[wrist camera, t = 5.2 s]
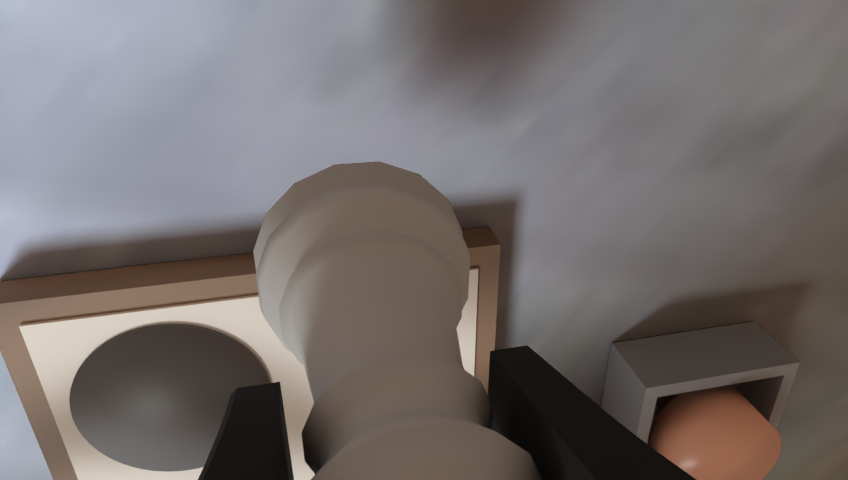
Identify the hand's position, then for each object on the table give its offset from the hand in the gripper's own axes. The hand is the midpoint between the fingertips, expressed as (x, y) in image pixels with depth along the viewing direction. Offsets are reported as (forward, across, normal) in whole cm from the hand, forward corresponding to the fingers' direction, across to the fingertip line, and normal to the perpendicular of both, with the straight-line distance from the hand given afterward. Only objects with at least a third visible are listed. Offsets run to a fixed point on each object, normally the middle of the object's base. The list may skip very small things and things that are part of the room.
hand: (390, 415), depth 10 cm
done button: (+8, -13, +11) cm, 18 cm away
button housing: (+10, -13, +11) cm, 19 cm away
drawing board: (+10, +2, +8) cm, 13 cm away
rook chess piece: (+5, 0, 0) cm, 5 cm away
